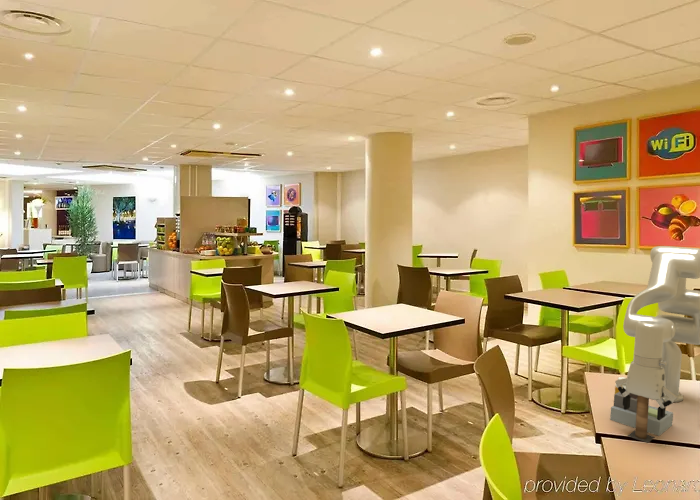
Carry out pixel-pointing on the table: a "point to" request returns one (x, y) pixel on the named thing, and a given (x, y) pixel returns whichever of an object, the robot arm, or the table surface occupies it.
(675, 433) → the table surface
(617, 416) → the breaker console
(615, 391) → the supplement bottle
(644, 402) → the brown wooden cylinder
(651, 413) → the on button
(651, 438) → the pad
